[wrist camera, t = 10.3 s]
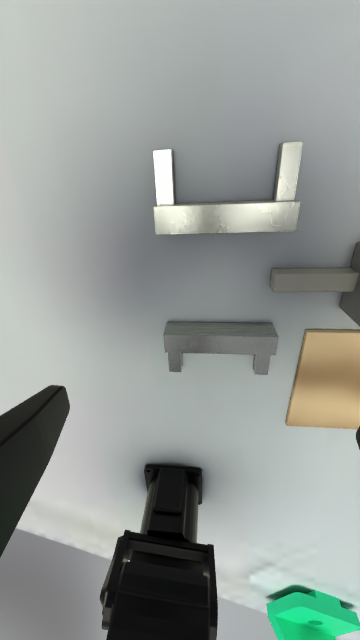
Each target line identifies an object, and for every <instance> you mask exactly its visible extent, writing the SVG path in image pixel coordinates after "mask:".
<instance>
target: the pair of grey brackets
mask: <svg viewBox="0 0 360 640" xmlns="http://www.w3.org/2000/svg"><path fill="white" fill-rule="evenodd" d="M302 146H303V142H289V143H282V144H280V147H279V155H278V164H277V172H276V181H275V189H274V197H273V200H264V201H236V202H208V203H180V204H175V192H174V170H173V151H172V150H171V149H169V150H153V156H154V169H155V183H156V196H157V206H154V207H153V208H154V220H155V233H156V234H194V233H237V232H280V231H296V227H297V221H298V215H299V209H300V203H301V202H299V201H295V200H294V198H295V192H296V185H297V179H298V172H299V165H300V159H301V152H302ZM277 343H278V335H277V333H276V331H275V328H274V326H273V324H272V323H212V322H167V326H166V329H165V332H164V345H165V352H168V359H169V371H170V372H181V370H182V353H213V354H252V355H255V358H254V367H253V369H254V373H255V374H260V375H268V368H269V362H270V355H276V349H277Z"/></svg>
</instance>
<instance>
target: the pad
mask: <svg viewBox="0 0 360 640" xmlns="http://www.w3.org/2000/svg"><path fill="white" fill-rule="evenodd" d="M286 425H287V426H306V427H325V428H344V429H358V428H359V426H360V330H305V334H304V339H303V344H302V348H301V353H300V357H299V362H298V366H297V371H296V376H295V380H294V385H293V389H292V394H291V399H290V403H289V408H288V412H287V417H286Z"/></svg>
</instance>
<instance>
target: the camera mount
mask: <svg viewBox="0 0 360 640" xmlns="http://www.w3.org/2000/svg"><path fill="white" fill-rule="evenodd" d="M267 611H268V618H269V620H270V622H271V625H272V627H273V629H274V632H275V634H276V636H277V638H278V640H335V637H336V636H339V635H342V634H346V633H350V632H353V631H357V630H360V623H359V620H358V617H357V614H356V612H353V611H351V610H348V609H345V608H342V607H341V605H340V601H339V599H338V598H335V597H332V596H330V595H327V594H324V593H321V592H319V591H316V590H313V591H311V592H309V593H306V594H304V593H300V592H294V593H291V594H289V595H287V596H284V597H282V598H280V599H277V600H275V601H272V602H270V603H268V604H267Z"/></svg>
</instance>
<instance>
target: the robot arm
mask: <svg viewBox="0 0 360 640" xmlns="http://www.w3.org/2000/svg"><path fill="white" fill-rule="evenodd" d="M69 409H70V404H69V400H68V396H67V392H66V388H65V387H64V386H59V385H50V386H48V387H47V388H45V389H43V390H42V391H40V392H38V393H37V394H35V395H33V396H32V397H30V398H29V399H27V400H25V401H24V402H22V403H20V404H19V405H17V406H15V407H14V408H12V409H11V410H9V411H7V412H6V413H4V414H2V415H1V416H0V557H1V555H2V553H3V551H4V549H5V547H6V545H7V543H8V541H9V539H10V537H11V535H12V533H13V531H14V530H15V528H16V526H17V524H18V522H19V520H20V518H21V516H22V514H23V512H24V510H25V508H26V506H27V504H28V502H29V500H30V498H31V496H32V494H33V492H34V490H35V488H36V487H37V485H38V483H39V481H40V479H41V477H42V475H43V473H44V471H45V469H46V467H47V465H48V463H49V461H50V458H51V456H52V454H53V451H54V449H55V446H56V444H57V441H58V439H59V436H60V433H61V431H62V428H63V426H64V423H65V421H66V418H67V416H68V413H69ZM356 440H357V443H358V446H359V449H360V426H359V428H358V430H357V432H356ZM144 473H145V479H146V485H147V491H148V495H147V500H146V505H145V510H144V515H143V520H142V525H141V530H140V533H135V532H131V531H130V530H125V532H124V535H123V536H121V537H118V540H117V544H116V548H115V552H114V555H113V559H112V562H111V565H110V568H109V571H108V573H107V576H106V579H105V582H104V584H103V587H102V590H101V595H100V601H101V603H102V606H103V611H102V615H103V620H102V629H104V630H108V634H107V639H106V640H216V636H217V619H218V617H217V616H218V606H217V605H218V604H217V587H216V573H215V559H214V546H213V545H211V544H208V545H204V544H199V543H197V522H198V505H200V504H202V470H201V469H198V468H185V467H171V466H157V465H146V466H145V469H144ZM128 560H130V562H128Z"/></svg>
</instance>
